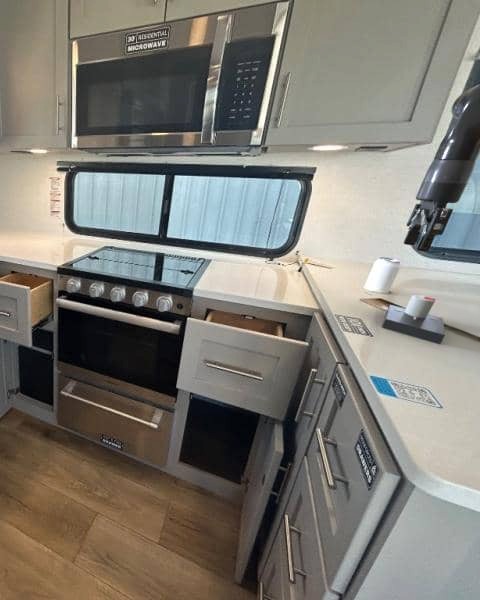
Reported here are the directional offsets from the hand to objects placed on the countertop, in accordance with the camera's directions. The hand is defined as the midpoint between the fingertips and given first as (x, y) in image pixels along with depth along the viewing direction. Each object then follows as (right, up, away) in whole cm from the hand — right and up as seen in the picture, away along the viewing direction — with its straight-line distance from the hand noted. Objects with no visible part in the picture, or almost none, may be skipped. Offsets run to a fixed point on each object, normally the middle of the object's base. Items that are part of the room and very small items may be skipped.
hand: (414, 247), depth 85 cm
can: (+14, -12, +27) cm, 33 cm away
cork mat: (+10, -16, +16) cm, 25 cm away
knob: (+5, -18, +5) cm, 19 cm away
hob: (+2, -21, +3) cm, 21 cm away
